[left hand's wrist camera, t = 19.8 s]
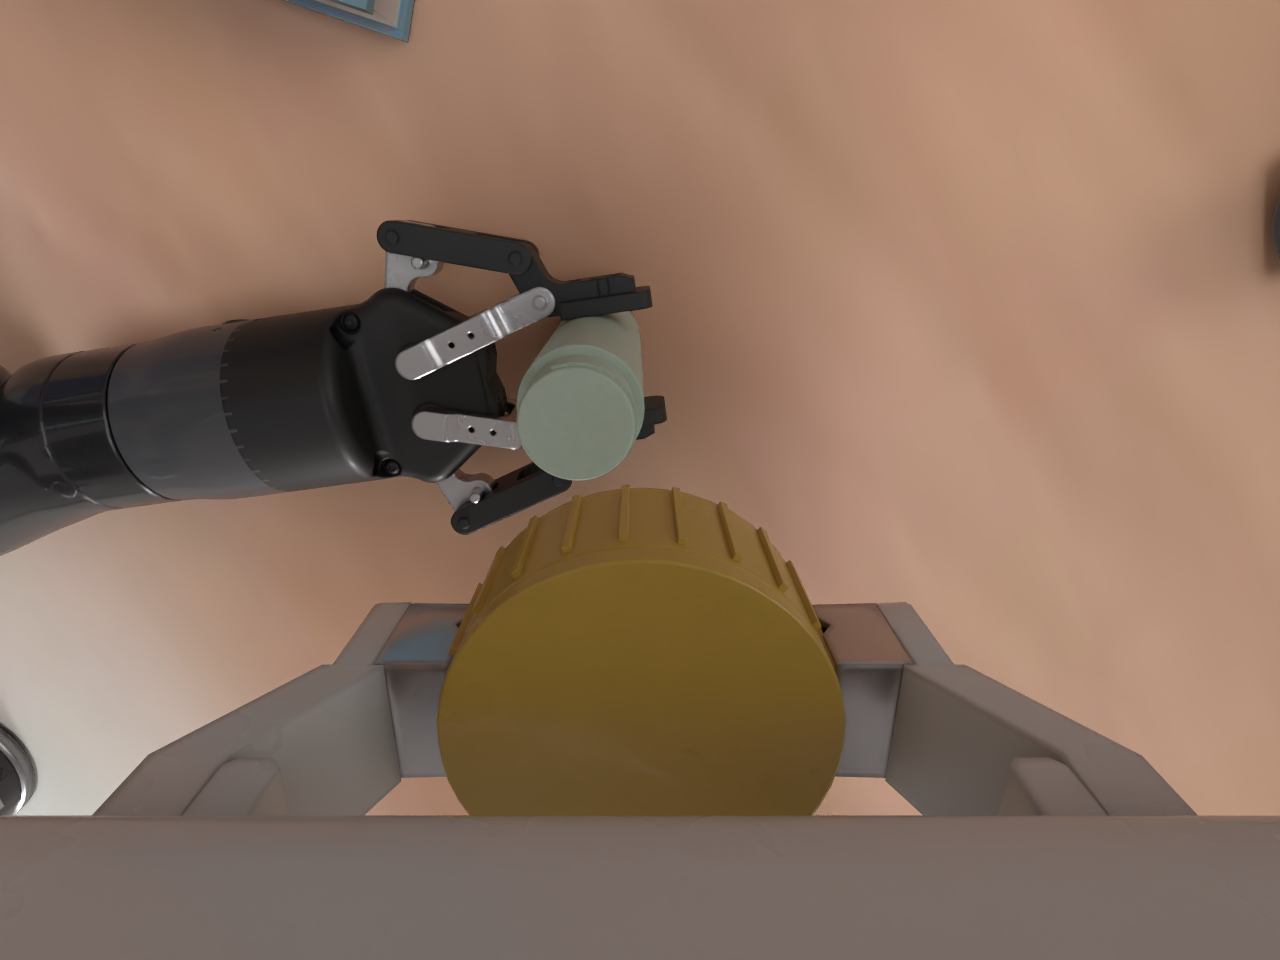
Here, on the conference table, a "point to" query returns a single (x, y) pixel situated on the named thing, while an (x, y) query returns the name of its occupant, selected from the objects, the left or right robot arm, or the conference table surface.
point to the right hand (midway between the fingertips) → (656, 353)
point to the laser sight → (1277, 227)
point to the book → (368, 14)
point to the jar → (583, 397)
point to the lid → (640, 670)
